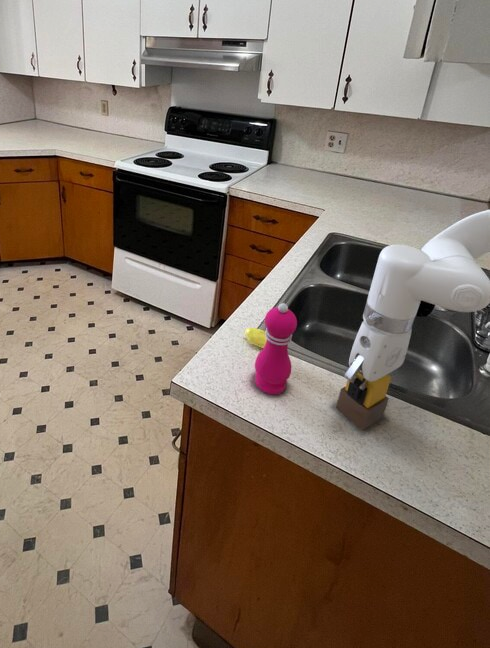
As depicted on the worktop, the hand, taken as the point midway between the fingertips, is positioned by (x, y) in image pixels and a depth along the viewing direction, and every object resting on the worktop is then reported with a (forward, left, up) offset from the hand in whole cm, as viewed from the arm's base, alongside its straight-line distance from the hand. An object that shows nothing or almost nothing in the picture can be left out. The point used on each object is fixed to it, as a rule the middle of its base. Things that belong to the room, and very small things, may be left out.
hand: (364, 392), depth 80 cm
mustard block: (0, 0, 0) cm, 0 cm away
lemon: (+4, -24, -5) cm, 25 cm away
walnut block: (0, 0, -5) cm, 5 cm away
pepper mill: (+10, -14, -5) cm, 18 cm away
